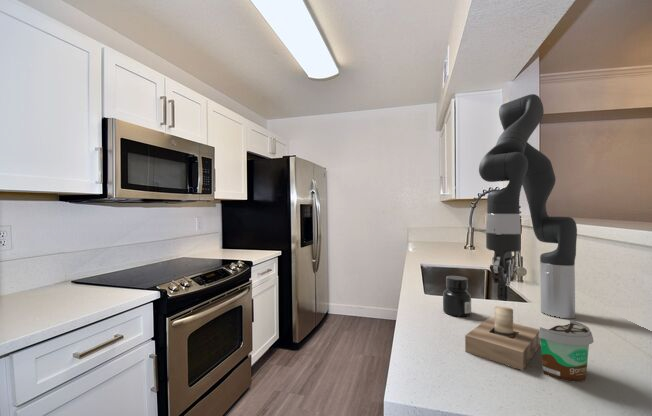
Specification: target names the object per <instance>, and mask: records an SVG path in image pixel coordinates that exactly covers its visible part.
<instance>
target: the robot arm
mask: <svg viewBox="0 0 652 416" xmlns="http://www.w3.org/2000/svg"><path fill="white" fill-rule="evenodd" d="M498 117H499V121H500V124H501V126H502V129H503V132H501V134H500V135H499V137H498V139H497V142H496V144H495V146H493V147H492V148H491V149H490V150H489V151H488V152H487V153H485V155H484V156H483V157H482V159H481V160H480V163H479V165H478V172H479V173H478V174H479V176H480V178H481V179H482V180H483V181H485V182H489V183H494V182H497V183H498V182H508V184H507V185H506V186H505V187H504V188H500V189H498V190H493V191H490V192H489V193H488V194H487V199H486V201H487V202H486V203H487V205H486V206H487V209H486V213H487V214H486V222H485V223H486V224H485V226H486V227H485V234H486V235H485V237H486V239H485V240H486V241H485V242H486V243H485V244H486V245H485V246H486V247H485V248H486V249H487V250H488V251H494V253H493V256H492V259H491V260H492V261H491V264H490V266H489V270H490V273H491V277H492V280H493V283H494V284H496V286H497V299H498V300H499V301H504V302H507V301H509V299H510V286H511V283H512V281H513V277H514V272H515V267H516V260H515V259H514V257H513V253H515V252H520V251H521V250H522V249H521V248H522V246H521V245H522V243H521V242H522V239H521V238H522V237H521V235H522V231H521V230H522V226H521V218H520V195H521V191H522V188H523V191H524V194H525V197H526V201H527V206H528V210H529V214H530V220H531V224H532V229H533V230H532V231H533V233H534V237H535V238H536V239H537V240H538V241H539V242H541V243H549V244H557V247H556V249H554V250H553V251H548V252H544V253H541V254H540V256H539V259H540V260H539V262H540V263H539V265H540V267H539V268H540V271H539V272H540V274H539V275H540V276H539V277H540V280H539V282H540V312H541V313H542V312H543V313H542V314H544V313H545V315H547V314H548V315H547V316H550V315H551V316H550V317H554V316H556V317H555V318H559V317H560V318H561V319H574V318H576V274H575V273H576V272H575V271H576V270H575V268H576V267H575V266H576V265H575V264H576V262H575V261H576V256H577V239H578V226H577V223H576V220H575V219H574V218H573V217H570V216H549V215H548V212H547V201H548V199H549V197H550V195H551V193H552V191H553V189H554V187H555V184H556V180H557V179H556V175H555V170H554V168H553V164H552V162H551V160H550V158H549V157H547V155H545V154H544V153H542V152H541V151H539V149H537V148H536V147H534V146H532V144H530V143H529V142H528V140H529V139H530V137H531V136H532V134H533V133H534V132H535V130H536V129H537V128H538V126H539V125H540V124H541V122H542V120H543V117H544V104H543V102H542V99H541V98H540V97H539V95H538V94H533V93H532V94H527V95H524V96H522V97H519V98H516V99H514V100H510V101H508V102H506V103H503V104H501V105H500V107H499V109H498Z"/></svg>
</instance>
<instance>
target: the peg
mask: <svg viewBox="0 0 652 416" xmlns="http://www.w3.org/2000/svg"><path fill="white" fill-rule="evenodd" d="M494 319H495V328H494V331H495V334H497V335H501V336H504V337H508V338H512V339H513V323H514V309H513V308H511V307H509V306H508V307H507V306H503V305H496V306H494Z"/></svg>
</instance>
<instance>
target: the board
mask: <svg viewBox="0 0 652 416" xmlns="http://www.w3.org/2000/svg"><path fill="white" fill-rule="evenodd" d="M494 328H495V317H488V318H487V319H486V320H484V321H483V322H481V323H480V324H479V325H478V326H476V327H474V328H473V329H472V330H470V331H468V333H466V334H465V335H464V338H465V343H464V345H465V349H464V350H465V353H467V354H471V355H475V356H477V357H481V358H483V359H486V360H488V361H489V360H490V361H492V360H493V361H492V362H495V361H496V362H495V363H498V362H499V363H498V364H501V363H502V364H501V365H504V364H505V366H507V365H509V366H508V367H510V366H512V367H511V368H513V367H515V368H518V369H520V370H519V371H521V370H523V371H524V370H525V369H526V367H527V366H528V364H529V363H530V362H531V360H532V359H533V357H534V356H535V354H536V353H535V352H537V351H538V350H539V348H541V339H540V337H538V336H539V330H540V328H536V327H535V328H534V327H532V326H527V325H523V324H518V323H514V322H513V339H512V338H508V337H504V336H501V335H497V334H495V331H494ZM533 355H534V356H533ZM532 356H533V357H532ZM530 359H531V360H530ZM528 362H529V363H528ZM526 365H527V366H526ZM515 368H514V369H515ZM524 368H525V369H524ZM518 369H517V370H518Z"/></svg>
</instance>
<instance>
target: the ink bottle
mask: <svg viewBox="0 0 652 416" xmlns="http://www.w3.org/2000/svg"><path fill="white" fill-rule="evenodd" d="M468 281H469V279H468V277H465V276H461V275H460V276H459V275H447V276H446V277H445V286H446V289H444V290H443V293H442V310H443V312H444V313H445V314H447V315H450V316H454V317H463V318H464V317H469V316H471V315H472V295H471V293H469V291H468V286H469V285H468V284H469V282H468Z"/></svg>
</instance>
